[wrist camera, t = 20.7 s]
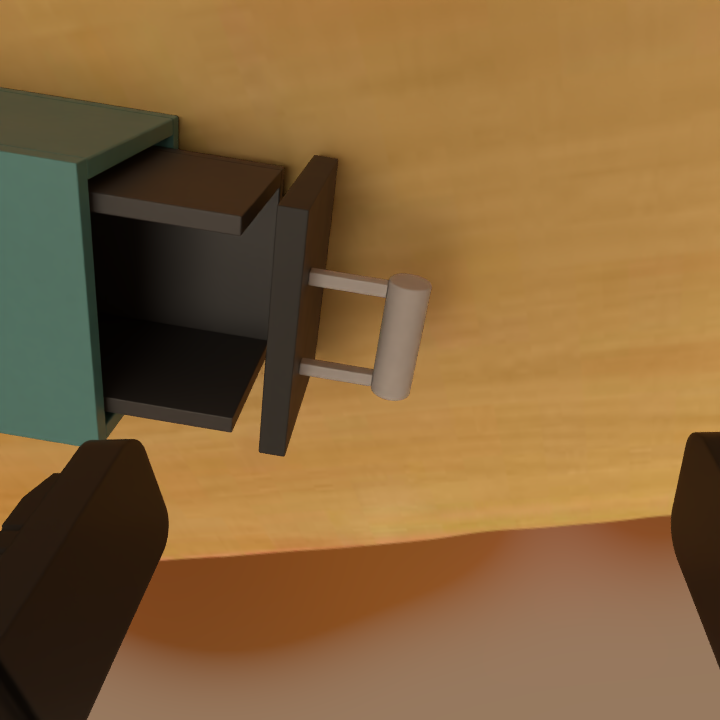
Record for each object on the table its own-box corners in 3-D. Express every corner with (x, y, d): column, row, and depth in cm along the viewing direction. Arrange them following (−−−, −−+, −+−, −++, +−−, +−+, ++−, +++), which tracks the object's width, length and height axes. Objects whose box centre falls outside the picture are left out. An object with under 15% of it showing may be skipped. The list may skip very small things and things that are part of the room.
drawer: (443, 175, 31) (448, 233, 23) (403, 376, 37) (396, 476, 29) (63, 113, 31) (-56, 150, 24) (81, 323, 37) (-10, 407, 29)
